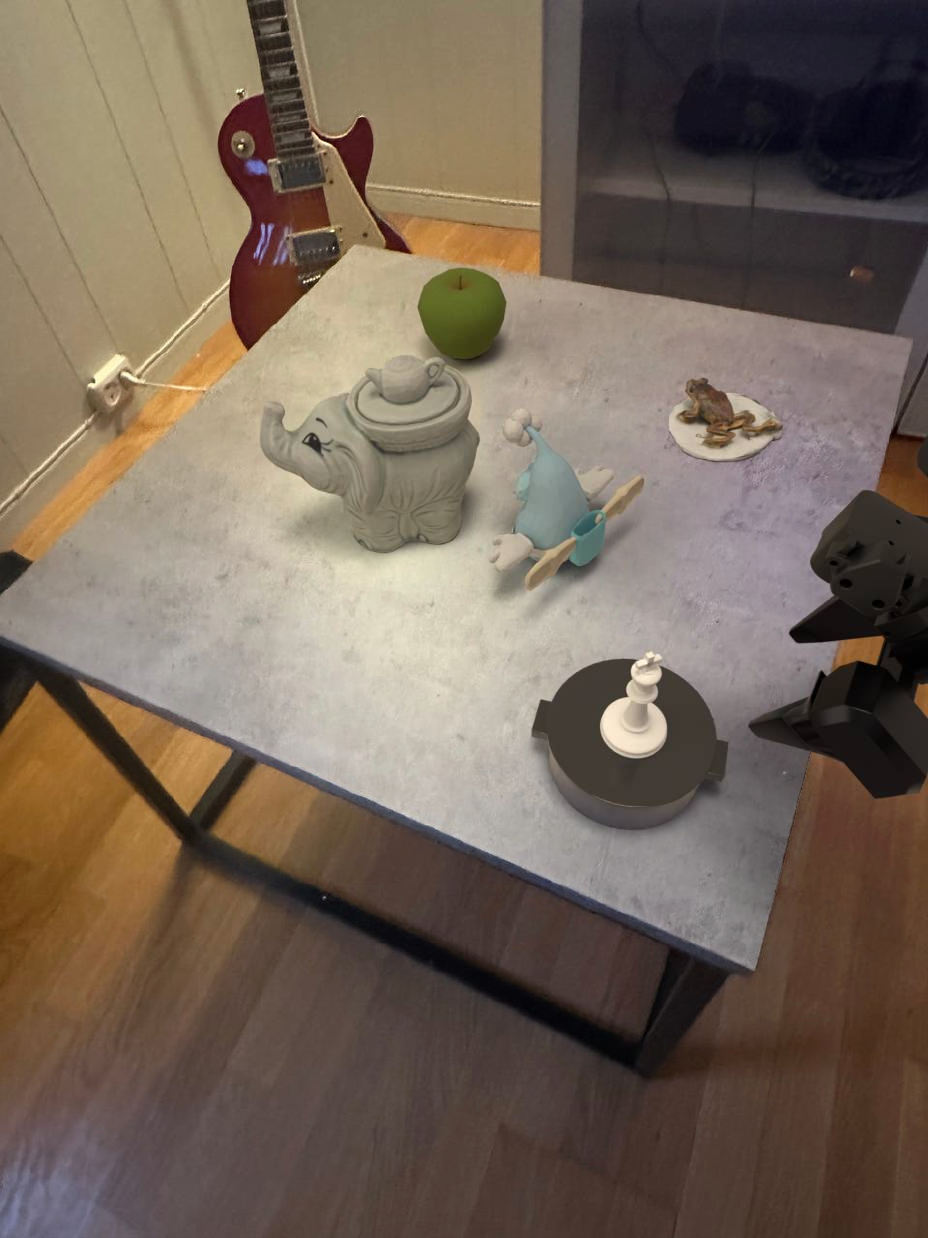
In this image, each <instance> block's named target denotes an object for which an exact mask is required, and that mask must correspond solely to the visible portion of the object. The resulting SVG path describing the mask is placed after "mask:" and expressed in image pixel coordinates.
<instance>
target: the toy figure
mask: <svg viewBox="0 0 928 1238" xmlns="http://www.w3.org/2000/svg"><path fill="white" fill-rule="evenodd" d="M542 428H543V423H542V418H541V417H540V416H538V414H532V413H531V411H529V410H528V409H527V408H518V409H515V410H514V412H513V413H511V416H510V417H508V418H507V419H506V420H505V421H504V422H503V425H502V435H503V437H504V438H505V440H506V441H507V442H508V443H511V444H515V445H516V446H518V447H520V448H525V447H528V446H530V445H531V444H532V443H533V442H534V444H535V448H536V457H535V459H534V461H533V462H531V463H530V464H529V465H528V467H527V469H525V470H523V471H522V472H521V473H520V474H519V475H518V476H517V479H516V483H515V486H514V490H513V491H512V492H511V493H512V495H515V499H516V500H518V501H520V502H524V503H523V505H522V506H521V508H520V509H519V511H518V513H517V515H516V519H515V521H514V524H512V525H513V526H512V529H511V533H503V534H497V535H494V536H493V537H492V538H491V543H492V545H493V546H497V545H498V547H497V548H496V549H495V550H494V551H493V552H492V553H491V554H490V555H489V558H488V561H489V563H490V564H494V569H495V570H496V571H498V572H501V573H503V572H506V571H508V570H510V569H511V568H513V567H514V566H516V565H517V564H518V563H520V562H521V561H523V560H525V559H526V558H528V557H529V558H531V559H532V560H534V561H536V563H535V565H533V567H531V568H530V569H529V571H528V573H527V574H526V576H525V579H524V585H525V589H526V590H527V591H533V590H534V589H536V588H537V587H538V586H540V585H541V584H542V583H543V582H545V581H546V580H547V579H549V577H553V576H554V575H555V574H556V573H557V572H558V569H559V568H560V566H562V564H563V563H564V562H567V561H568V560H569V561H570V562H571V563H572V564H574V565H575V566H578V567H582V566H585V565H587V564H589V563H590V562H591V561H592V560H593V559H595V558H596V556H598V554H599V553H600V552H601V550H602V548H603V545H604V542H605V534H606V527H607V526H606V524H607V523H608V522H609V521H611V520H612V519H613V518H615V517H616V516H618V515H622V514H623V513H625V512H626V509H627V507H628V506H630V505H631V503H632V502H633V501H635V499H636V498H637V497H638V496H639V495H640V494H641V492H642V490H643V488H644V484H645V477H644V476H643V475H641V474H640V475H637V476H635V477H634V478H632V479H631V480H630V481H629V482H627V483H625V485H623V486H620V487H618V488H617V489H616V490H615V492H614V495H613V496H612V498H610V499H609V501H608V502H607V503H605V505H604V507H602V508H601V510H600V509H594V510H591V511H590V508H589V503H590V502H591V501H593V500H594V499H596V498H597V497H598V496H600V494H601V493H602V492H603V490H605V488H606V487H607V486H608V485H609V484H610V483H611V481H612V480H613V479H614V478H615V474H616V473H615V472H614V470H613V469H612V468H609V467H608V468H604V469H603V466H602V465H601V464H598V465H596V466H595V467H593V468H592V469H590V470H588V471H585V472H584V473H582V474H581V470H580V469H579V468H575V469H574V468H573V467H572V465H571V464H570V463H569V461H568V460H567V459H566V458H565V457H564V456H563V455H561V454H560V453H559V452H558V451H556V450H554V449H553V448H552V447H551V446H550V445H549V444H548V442H547V441H546V440H545V439H544V437H543V436H542V434H540V433H539V432H540V431H541V430H542Z"/></svg>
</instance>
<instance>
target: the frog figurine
mask: <svg viewBox="0 0 928 1238" xmlns="http://www.w3.org/2000/svg"><path fill="white" fill-rule="evenodd" d="M684 392H685V393H686V394H687V395H688V397H687V398H685V399H682V400H681V401H680V402H679V403H677V404H676V405H675V406H674V407H673V409H672V410H671V412H670V413H669V416H668V428H667V430H668V431H669V434H671V435H672V437H673V438H674V440H675V443H676V444H677V445H678V446H679V448H680V449H681V450H682V452H684V454H687V455H689V456H691V457H694V458H696V459H701V460H703V459H704V460H707V461H709V462H711V461H714V462H737V461H742V460H746V459H749V458H751V457H754V456H755V455H757V454H759V453H760V452H762V450H764V449H765V448H766V447H767V446H768V445H769V444H770V442H772V441H774V440H775V441H776V440H779V439H781V438H782V436H783V429H784V424H783V422H782V421H780V420H779V419H778V417H777V416H776V414H775V412H774V411H773V410H769V409H768V408H767V407H766V406H765V405H763V404H762V403H761V402H759V401H758V400H757V399H755V398H751V397H749V396H746V394H743V393H735V392H725V391H722V390H717V389H716V388H715V387H713V385H711V384H709V379H708V378H705V377H701V378H699V379H694V378H690V379H689V380H687V382H686V385H685V390H684Z"/></svg>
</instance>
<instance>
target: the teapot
mask: <svg viewBox="0 0 928 1238" xmlns="http://www.w3.org/2000/svg"><path fill="white" fill-rule="evenodd" d="M472 403H473V396H472V391H471V386H470V385H469V383H468V380H467V379H466V378H465V377H464V375H463V374H462V372H461V371H459V370H458V369H457V368H455V367H452V366H451V365H448V364H446V363H445V361H444V359H443V358H441V357H439V356H436V357H435V356H434V357H430V358H428V359H427V360H426V361H423V360H422V359H420V358H418V357H417V356H414V355H409V354H401V355H397V356H394V357H392V358H390V359H389V360H388V361H386V362H385V363H384V365H383V367H382V368H381V367H380V368H374V367H367V368H366V369H365V371H364V376H363V377H361V378H360V379H359V380H357V381H356V383H354V385H353V386H352V388H351V390H350V391H349V392H342V393H340V394H338V395H334V396H329V397H327V398H324V399H323V400H321V401H320V402H319V403H317V404H316V405H315V406H314V407H313V409H312V410H311V411H310V413H309V414H308V415H307V417H306V418H305V420H304V421H303V422H302V424H301V425H300V426H298V428H296V429H293V430H288V429H286V428H285V425H284V423H283V420H284V417H285V415H286V409H285V407H284V405H283V403H281V402H277V401H265V403H264V405H263V411H262V417H261V421H260V431H259V444H260V448H261V452H262V453H263V455H264V456H265V458H266V459H267V460H268V462H270V463H272V464H273V465H274V466H275V467H277V468H279V469H281V470H283V471H285V472H288V473H291V474H294V475H296V476H297V477H300V478H301V479H303V480H304V481H305V482H306V483H307V484H308V485H309V486H310V487H311V488H313V489H315V490H317V491H319V492H322V493H325V494H331V495H336V496H338V497H339V498H341V500H342V507H343V512H344V515H345V518H346V520H347V521H348V522H349V524H350V525H351V526H352V528H353V538H354V540H355V542H357V544H359V545H360V546H362V547H363V548H365V549H366V550H369V551H372V552H376V553H377V552H378V553H389V552H393V551H395V550H397V549H398V548H400V547H401V546H403V545H404V544H406V543H409V542H412V541H418V542H423V543H428V544H431V545H432V544H435V545H437V544H438V545H439V544H444V543H448V542H450V541H451V540H453V539H454V538H456V536H457V535H458V533H459V530H460V529H461V525H462V518H463V517H462V502H463V499H464V495H465V491H466V484H467V482H468V480H469V478H470V475H471V473H472V471H473V468H474V465H475V461H476V458H477V451H478V448H479V446H480V442H481V436H480V433H479V431H478V430H477V429H476V427H475V426H474V424H472V422H471V420H469V417H470V412H471V408H472Z"/></svg>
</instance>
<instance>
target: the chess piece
mask: <svg viewBox="0 0 928 1238" xmlns="http://www.w3.org/2000/svg"><path fill="white" fill-rule="evenodd" d="M638 660H639V661H636V662H635V663H634V664H633V666H632V668H631V675H632V678H633V679H632V680H631V681H630V682H629V683H628V685H627V688H626V691H627V694H628V696H629V697H625V698H621V699H618V700H616V701H614V702H613V703H611V704H610V705H609V706H608V707H607V709H606V710H605V712H604V714H603V716H602V718H601V722H600V730H601V735H602V737H603V739H604V741H605V743H606V744H607V745H608V746H609V747H610V748H611V749H612V750H613V751H615V752H616V753H618V754H620V755H622V756H625V757H629V758H644V757H648V756H651V755H653V754H654V753H656V752H657V751H658V750H660V748H661V747H662V746H663V744H664V743H665V740H666V737H667V724H666V720H665V717H664V715H663V713H662V712H661V711H660V709H659V708H658V707H657V706H655V705H654V704H653V703H651V702H653V701H654V700H655V699H656V697H657V695H658V689H657V686H656V684H657V683H658V682H659V680H660V679H661V676H662V671H661V668H660V667H659V664H661V663H663V657H662V656H661V654H660V653H657V654H654V652H653V651H649V652H646V653H645V654H644V658H642V659H638Z"/></svg>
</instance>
